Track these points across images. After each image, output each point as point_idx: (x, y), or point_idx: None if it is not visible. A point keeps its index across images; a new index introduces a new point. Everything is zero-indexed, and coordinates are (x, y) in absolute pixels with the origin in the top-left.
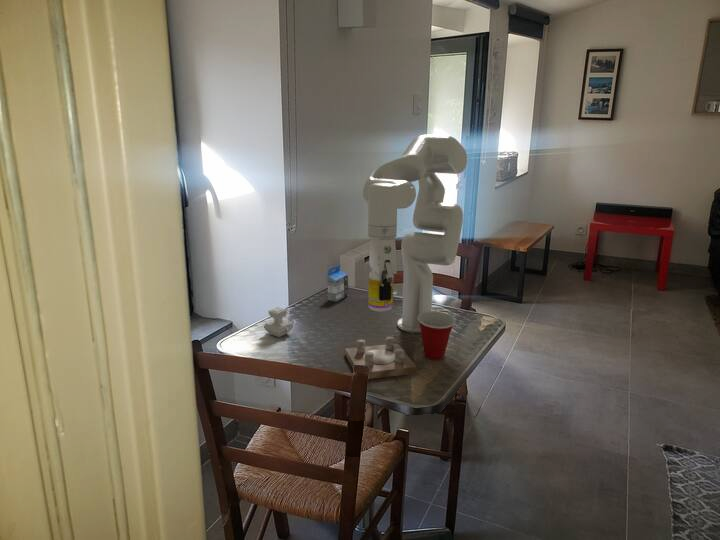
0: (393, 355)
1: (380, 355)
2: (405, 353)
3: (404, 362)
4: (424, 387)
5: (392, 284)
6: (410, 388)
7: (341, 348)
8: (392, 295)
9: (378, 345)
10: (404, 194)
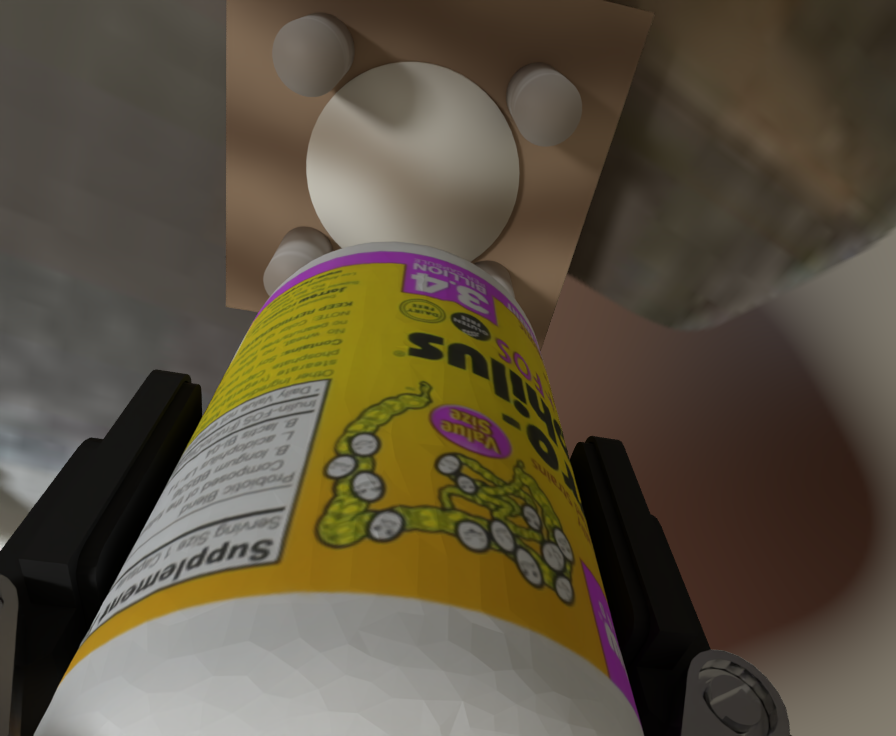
0: (439, 84)
1: (403, 169)
2: None
3: (556, 61)
4: (803, 70)
5: (568, 541)
6: (755, 154)
7: (142, 273)
8: (523, 376)
9: (231, 91)
10: None
